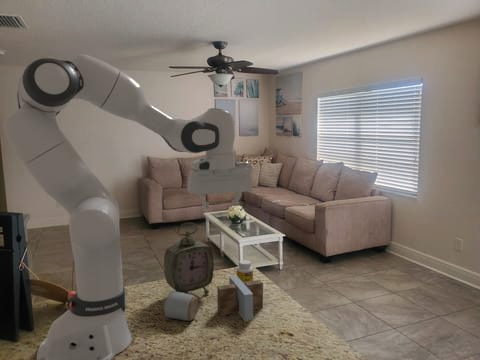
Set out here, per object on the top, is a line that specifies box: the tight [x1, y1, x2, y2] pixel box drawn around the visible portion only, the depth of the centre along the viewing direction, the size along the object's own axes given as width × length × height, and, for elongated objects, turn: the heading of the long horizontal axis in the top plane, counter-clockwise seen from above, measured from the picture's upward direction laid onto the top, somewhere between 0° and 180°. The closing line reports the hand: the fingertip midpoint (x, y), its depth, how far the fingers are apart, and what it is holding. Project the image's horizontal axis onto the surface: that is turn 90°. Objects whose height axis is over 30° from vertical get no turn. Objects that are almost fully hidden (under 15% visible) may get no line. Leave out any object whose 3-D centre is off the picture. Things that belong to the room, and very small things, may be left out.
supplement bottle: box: [236, 259, 254, 284], centre depth 130 cm, size 6×6×10 cm
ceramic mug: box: [164, 290, 199, 322], centre depth 114 cm, size 11×8×8 cm
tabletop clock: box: [163, 221, 215, 295], centre depth 126 cm, size 14×9×25 cm, turn 123°
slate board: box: [228, 275, 254, 322], centre depth 117 cm, size 14×2×8 cm, turn 20°
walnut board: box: [216, 279, 264, 316], centre depth 117 cm, size 14×2×8 cm, turn 110°
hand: (220, 207), depth 118 cm, fingers open, 8 cm apart
